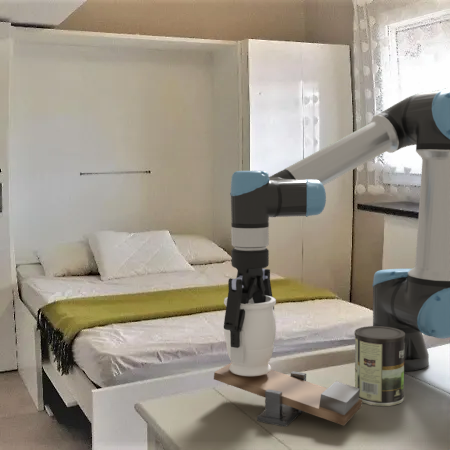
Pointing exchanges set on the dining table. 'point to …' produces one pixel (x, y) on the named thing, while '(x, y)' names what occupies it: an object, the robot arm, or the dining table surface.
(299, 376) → the pivot stand
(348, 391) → the beam
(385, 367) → the coffee can
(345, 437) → the dining table surface
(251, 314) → the jar
